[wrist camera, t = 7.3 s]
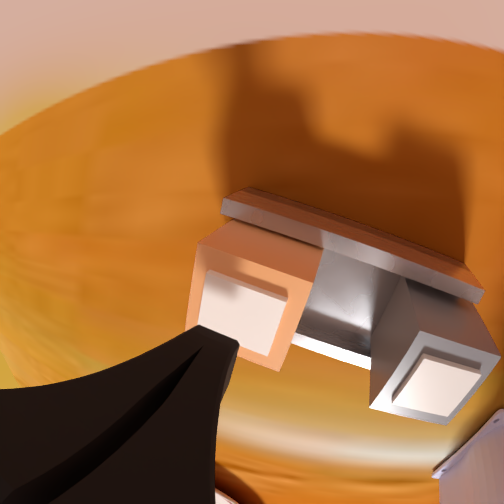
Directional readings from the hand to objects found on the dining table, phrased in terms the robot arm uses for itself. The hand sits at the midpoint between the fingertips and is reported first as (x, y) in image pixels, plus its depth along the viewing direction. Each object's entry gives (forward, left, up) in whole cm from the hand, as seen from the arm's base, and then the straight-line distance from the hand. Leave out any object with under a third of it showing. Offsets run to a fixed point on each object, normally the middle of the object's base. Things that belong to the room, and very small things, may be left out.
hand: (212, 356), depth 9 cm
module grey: (0, -8, -7) cm, 11 cm away
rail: (0, -4, -8) cm, 9 cm away
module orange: (0, 0, -7) cm, 7 cm away
